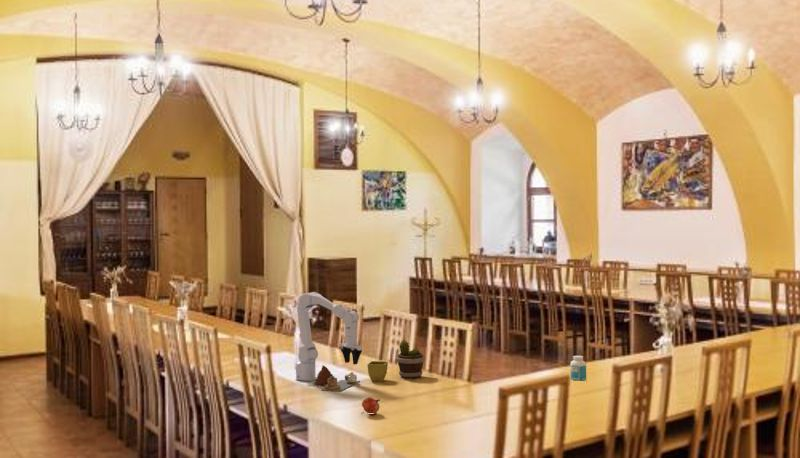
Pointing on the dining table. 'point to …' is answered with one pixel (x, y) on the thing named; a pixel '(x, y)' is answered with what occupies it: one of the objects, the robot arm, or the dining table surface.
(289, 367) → the dining table surface
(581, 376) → the pill bottle
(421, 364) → the flowerpot
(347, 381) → the hub
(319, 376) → the poop emoji
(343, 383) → the mat
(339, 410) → the dining table surface
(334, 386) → the tan rock
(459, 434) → the dining table surface
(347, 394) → the dining table surface
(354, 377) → the clutch plate
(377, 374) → the flower pot
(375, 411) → the pomegranate
